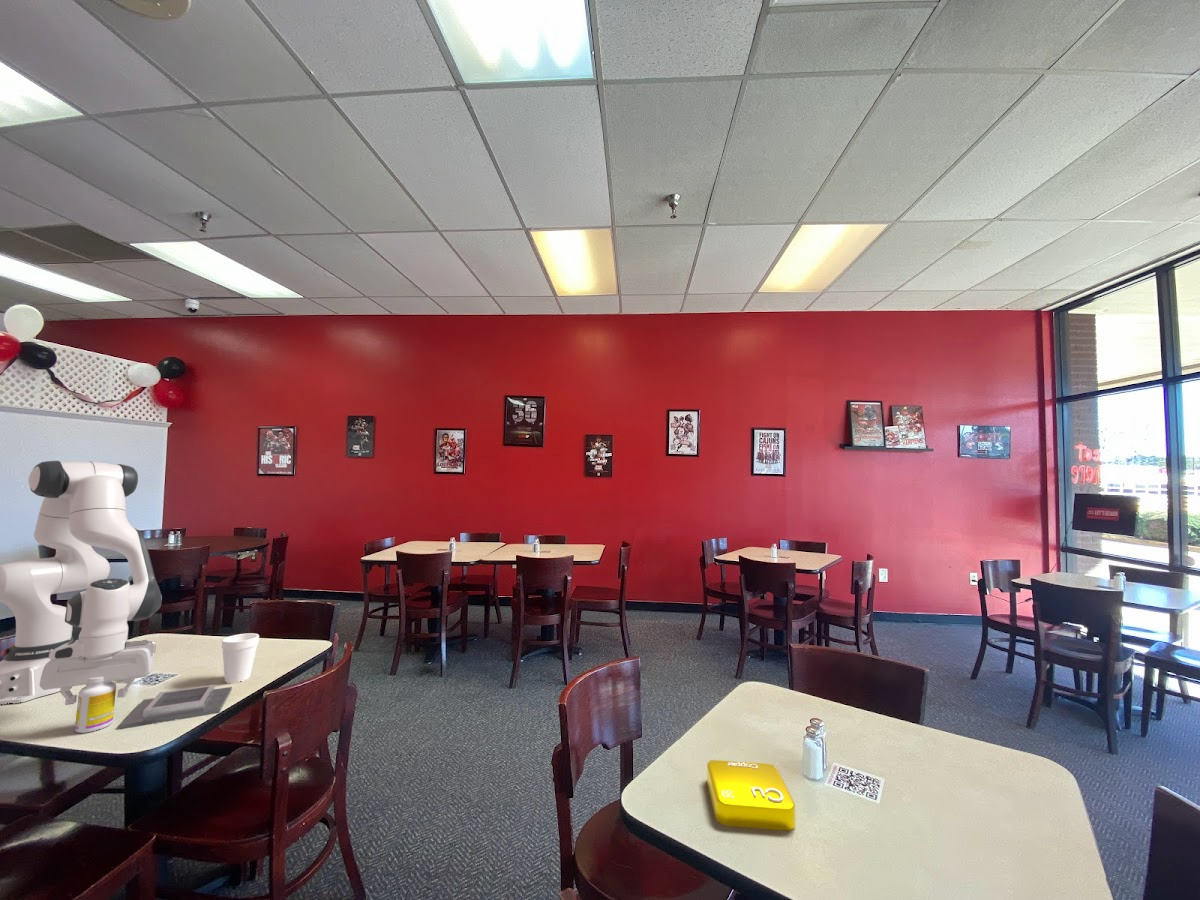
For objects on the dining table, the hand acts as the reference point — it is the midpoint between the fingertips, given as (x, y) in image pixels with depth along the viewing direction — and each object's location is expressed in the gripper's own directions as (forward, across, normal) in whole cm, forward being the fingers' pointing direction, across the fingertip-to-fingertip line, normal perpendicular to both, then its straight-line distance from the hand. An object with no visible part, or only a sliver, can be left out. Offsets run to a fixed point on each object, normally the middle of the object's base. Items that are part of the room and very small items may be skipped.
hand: (96, 700), depth 120 cm
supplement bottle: (+7, 0, 0) cm, 7 cm away
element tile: (+7, -128, +97) cm, 161 cm away
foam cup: (+7, -26, -21) cm, 34 cm away
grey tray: (+7, -16, -4) cm, 18 cm away
